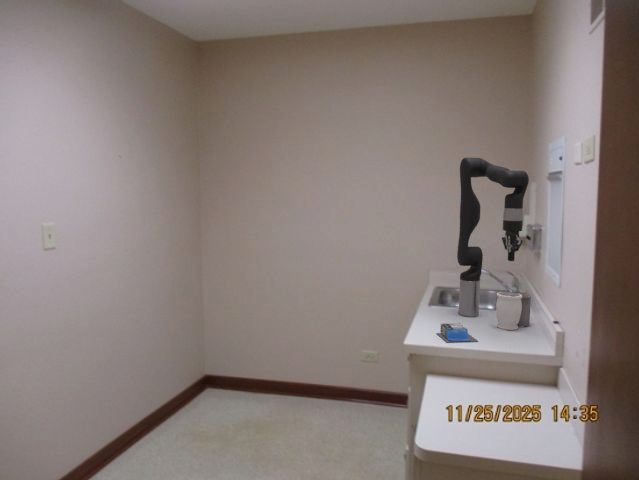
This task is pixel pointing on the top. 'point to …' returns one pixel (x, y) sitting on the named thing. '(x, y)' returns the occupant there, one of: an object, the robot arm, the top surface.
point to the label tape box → (455, 332)
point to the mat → (456, 341)
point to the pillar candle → (524, 309)
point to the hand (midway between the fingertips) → (510, 260)
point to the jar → (508, 310)
